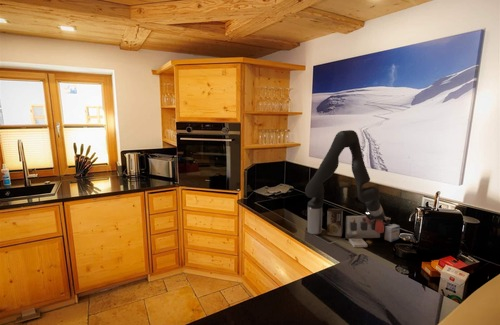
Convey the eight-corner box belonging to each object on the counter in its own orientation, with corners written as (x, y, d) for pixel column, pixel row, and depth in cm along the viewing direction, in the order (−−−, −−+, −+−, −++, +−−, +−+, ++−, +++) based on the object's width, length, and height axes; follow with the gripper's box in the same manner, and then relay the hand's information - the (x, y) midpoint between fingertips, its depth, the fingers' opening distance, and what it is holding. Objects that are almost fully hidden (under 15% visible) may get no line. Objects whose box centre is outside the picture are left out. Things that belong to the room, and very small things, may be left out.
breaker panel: (345, 237, 166) (346, 216, 163) (378, 236, 166) (379, 215, 164) (347, 240, 162) (348, 218, 159) (381, 239, 162) (383, 217, 160)
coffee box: (342, 232, 172) (343, 209, 169) (341, 236, 166) (342, 212, 164) (327, 230, 176) (328, 207, 173) (326, 234, 170) (327, 210, 168)
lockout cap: (372, 229, 159) (374, 213, 157) (381, 229, 159) (382, 213, 157) (377, 233, 153) (378, 217, 152) (385, 233, 154) (387, 216, 152)
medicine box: (390, 242, 158) (391, 228, 156) (384, 239, 162) (385, 226, 160) (399, 239, 161) (400, 225, 160) (392, 236, 165) (393, 223, 164)
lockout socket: (348, 241, 160) (349, 238, 160) (361, 240, 160) (361, 238, 160) (354, 247, 153) (354, 244, 152) (367, 247, 153) (367, 244, 152)
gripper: (390, 207, 142) (395, 221, 153) (364, 201, 152) (370, 215, 163) (386, 219, 140) (392, 233, 150) (359, 212, 150) (366, 225, 160)
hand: (380, 223), depth 157 cm, fingers closed on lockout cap, 4 cm apart
